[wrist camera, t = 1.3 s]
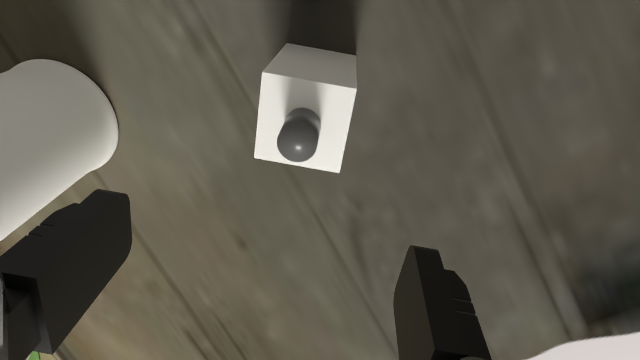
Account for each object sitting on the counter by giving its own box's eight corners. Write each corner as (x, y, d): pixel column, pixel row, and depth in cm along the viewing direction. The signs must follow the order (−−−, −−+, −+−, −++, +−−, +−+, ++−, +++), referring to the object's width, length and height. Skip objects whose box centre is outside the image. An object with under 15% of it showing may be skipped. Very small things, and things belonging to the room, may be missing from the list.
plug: (356, 55, 27) (357, 104, 17) (343, 121, 29) (337, 195, 19) (286, 43, 26) (251, 85, 17) (278, 109, 29) (243, 179, 19)
